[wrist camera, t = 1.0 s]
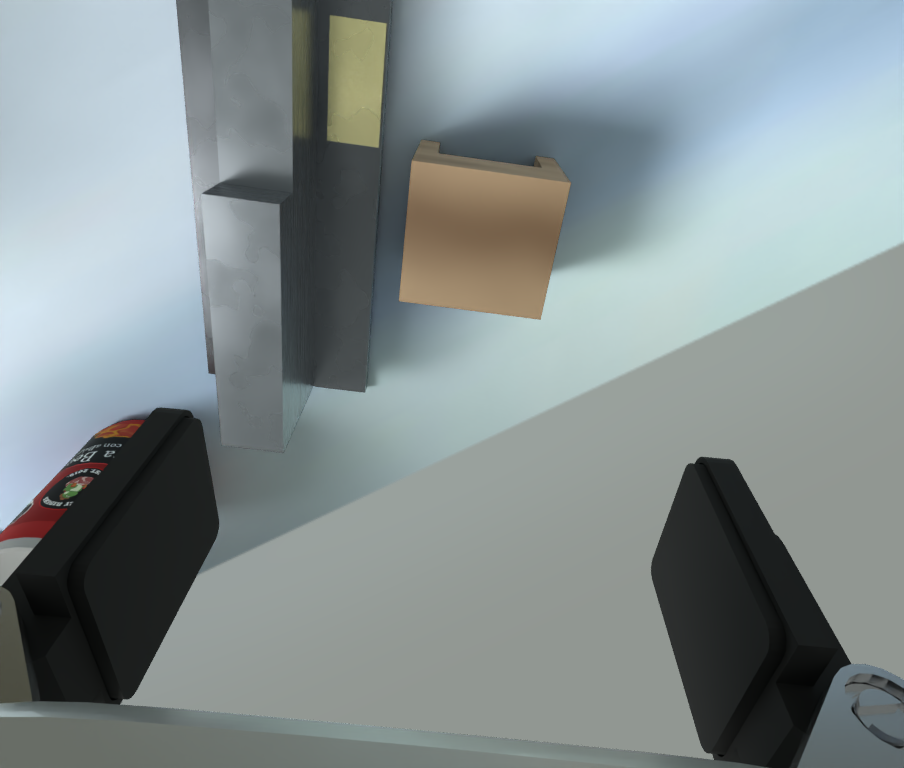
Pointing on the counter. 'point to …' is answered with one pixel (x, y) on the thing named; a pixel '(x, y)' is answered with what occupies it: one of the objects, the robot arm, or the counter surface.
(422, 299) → the tan slotted wooden block
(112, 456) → the canned food
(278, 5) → the notched rail
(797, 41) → the counter surface
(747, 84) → the counter surface
